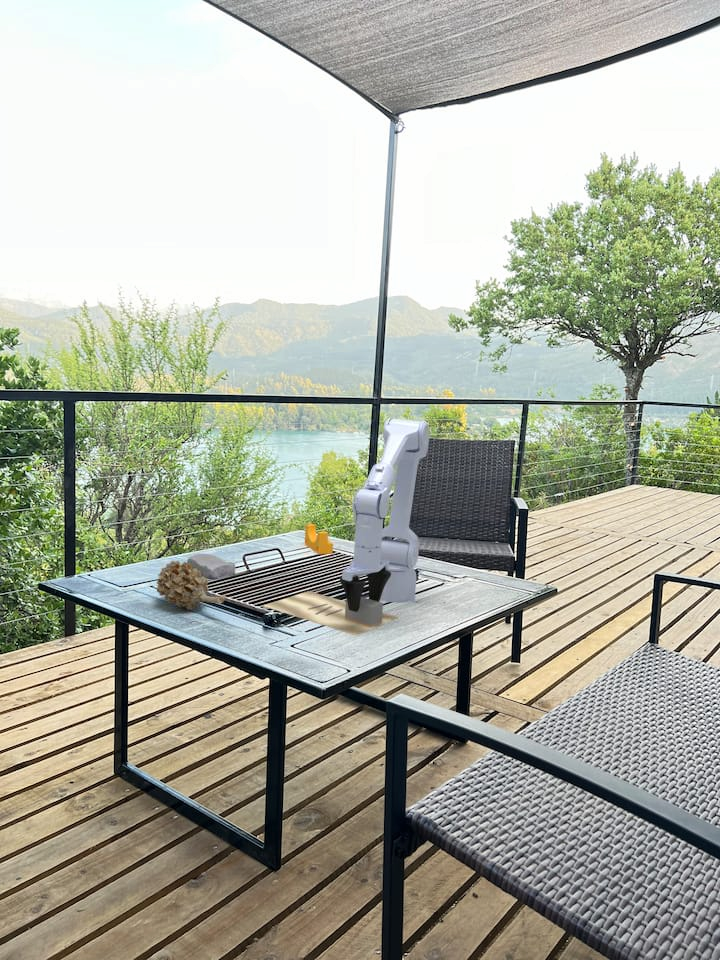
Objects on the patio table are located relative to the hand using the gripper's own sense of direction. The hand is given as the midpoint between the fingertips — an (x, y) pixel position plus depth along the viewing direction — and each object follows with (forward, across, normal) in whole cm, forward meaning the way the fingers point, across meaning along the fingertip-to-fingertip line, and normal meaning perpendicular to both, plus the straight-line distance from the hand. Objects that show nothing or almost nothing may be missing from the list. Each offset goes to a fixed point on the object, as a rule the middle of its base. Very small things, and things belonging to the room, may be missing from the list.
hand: (363, 606), depth 169 cm
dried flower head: (+5, +18, -34) cm, 38 cm away
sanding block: (+3, 0, 0) cm, 3 cm away
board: (+5, 0, -9) cm, 10 cm away
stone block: (+5, -7, -53) cm, 54 cm away
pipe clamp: (+5, -47, -50) cm, 69 cm away
